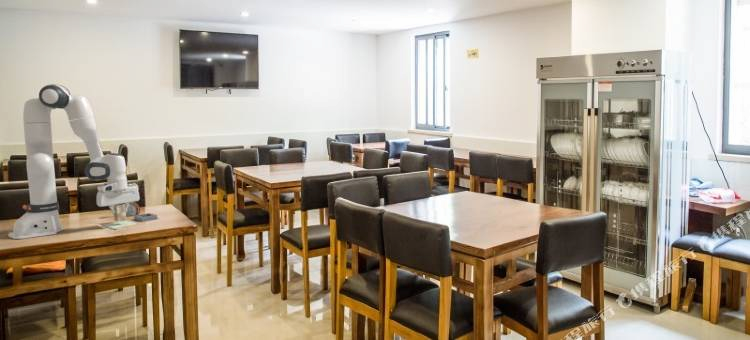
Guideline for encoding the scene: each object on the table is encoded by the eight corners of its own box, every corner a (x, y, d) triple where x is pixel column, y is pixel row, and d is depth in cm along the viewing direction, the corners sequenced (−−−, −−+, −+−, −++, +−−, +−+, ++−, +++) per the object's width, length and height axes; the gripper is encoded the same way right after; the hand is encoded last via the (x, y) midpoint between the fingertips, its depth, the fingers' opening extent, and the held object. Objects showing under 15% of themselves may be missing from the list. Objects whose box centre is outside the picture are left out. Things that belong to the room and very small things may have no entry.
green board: (113, 230, 268) (113, 228, 268) (102, 226, 276) (102, 224, 276) (137, 225, 277) (137, 223, 277) (126, 222, 285) (126, 220, 285)
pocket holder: (141, 224, 281) (141, 218, 280) (132, 221, 287) (131, 215, 287) (159, 220, 288) (159, 215, 288) (150, 218, 295) (150, 212, 294)
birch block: (118, 221, 273) (117, 206, 272) (114, 220, 276) (113, 205, 275) (126, 220, 276) (125, 204, 275) (122, 219, 279) (121, 203, 278)
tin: (140, 216, 299) (139, 201, 298) (137, 218, 296) (136, 202, 294) (114, 216, 300) (113, 201, 299) (111, 217, 297) (110, 202, 296)
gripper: (134, 182, 284) (136, 208, 286) (94, 187, 268) (96, 215, 270) (140, 183, 280) (142, 209, 281) (99, 188, 264) (102, 216, 266)
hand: (119, 212), depth 276 cm, fingers closed on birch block, 4 cm apart
